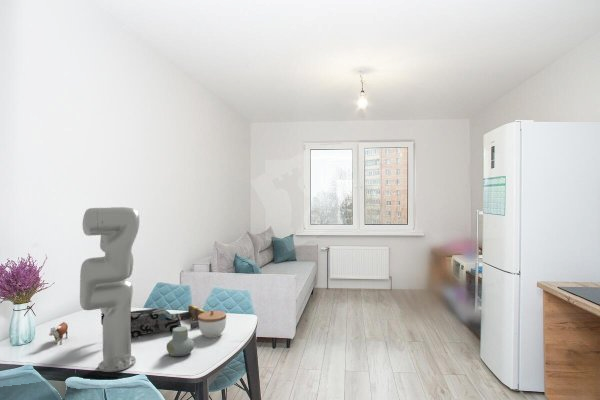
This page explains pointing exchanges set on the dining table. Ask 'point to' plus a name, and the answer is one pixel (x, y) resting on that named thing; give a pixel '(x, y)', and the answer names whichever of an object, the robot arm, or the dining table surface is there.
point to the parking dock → (192, 315)
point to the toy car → (153, 321)
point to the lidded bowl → (212, 323)
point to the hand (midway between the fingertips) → (108, 327)
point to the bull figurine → (59, 332)
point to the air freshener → (180, 342)
